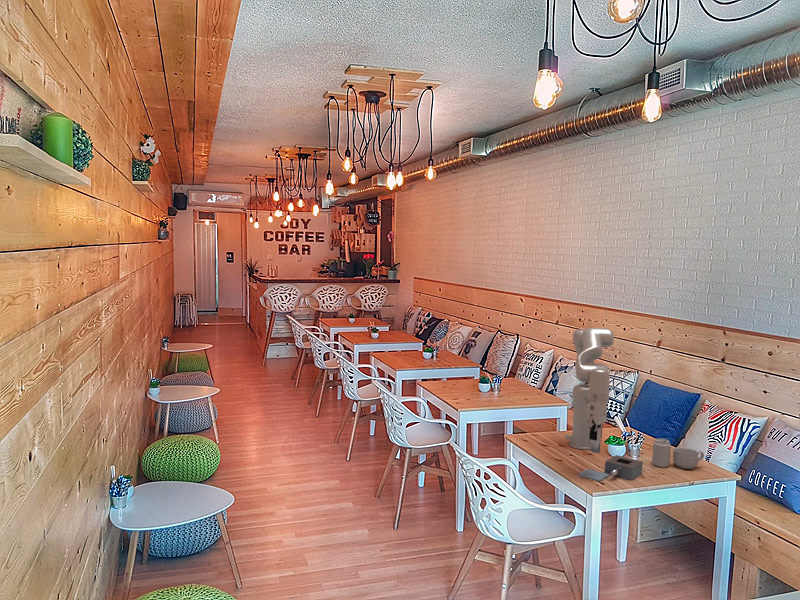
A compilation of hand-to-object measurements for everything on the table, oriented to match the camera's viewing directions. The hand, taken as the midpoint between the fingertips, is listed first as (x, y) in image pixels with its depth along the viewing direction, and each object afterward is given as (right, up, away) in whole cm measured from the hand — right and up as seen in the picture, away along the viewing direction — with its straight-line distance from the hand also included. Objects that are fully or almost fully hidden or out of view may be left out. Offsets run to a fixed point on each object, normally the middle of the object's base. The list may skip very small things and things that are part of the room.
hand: (595, 438), depth 263 cm
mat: (0, -17, +1) cm, 17 cm away
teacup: (+48, -17, +17) cm, 54 cm away
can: (+36, -17, +18) cm, 44 cm away
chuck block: (+12, -17, +3) cm, 21 cm away
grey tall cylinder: (0, -6, 0) cm, 6 cm away
